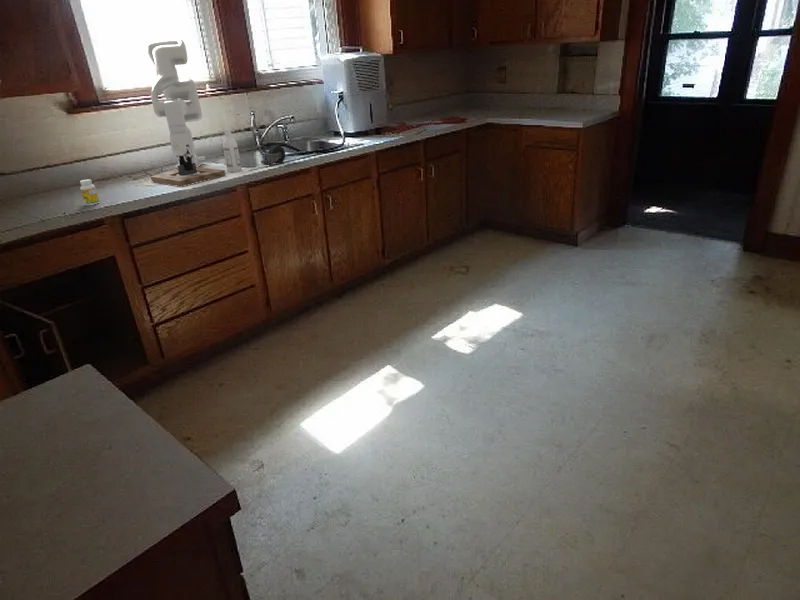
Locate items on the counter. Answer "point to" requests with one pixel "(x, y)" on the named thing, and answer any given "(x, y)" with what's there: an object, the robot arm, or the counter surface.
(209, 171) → the brown wooden square frame
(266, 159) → the caster wheel
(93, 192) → the supplement bottle
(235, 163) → the bath foam
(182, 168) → the dial
